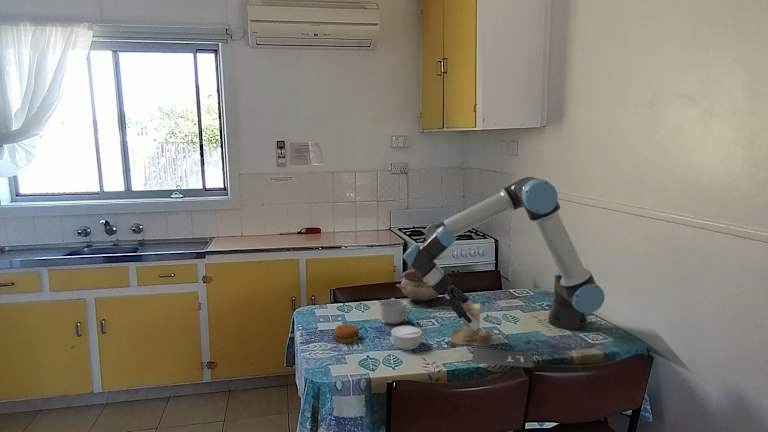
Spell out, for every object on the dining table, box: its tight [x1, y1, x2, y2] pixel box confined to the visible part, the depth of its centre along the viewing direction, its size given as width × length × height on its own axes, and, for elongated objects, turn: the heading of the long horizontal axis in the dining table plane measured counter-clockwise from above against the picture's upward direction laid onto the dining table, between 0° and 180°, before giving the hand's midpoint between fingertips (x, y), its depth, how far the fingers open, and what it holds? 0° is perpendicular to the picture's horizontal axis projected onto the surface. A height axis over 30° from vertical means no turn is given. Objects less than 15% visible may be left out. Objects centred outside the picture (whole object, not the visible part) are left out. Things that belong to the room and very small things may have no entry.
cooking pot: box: [396, 269, 441, 303], centre depth 239 cm, size 25×19×12 cm
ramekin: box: [390, 325, 423, 350], centre depth 189 cm, size 11×11×5 cm
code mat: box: [471, 348, 535, 368], centre depth 176 cm, size 20×12×1 cm, turn 79°
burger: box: [333, 323, 360, 344], centre depth 195 cm, size 10×9×5 cm
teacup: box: [379, 297, 407, 325], centre depth 214 cm, size 14×11×8 cm
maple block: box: [462, 302, 481, 341], centre depth 192 cm, size 6×6×12 cm
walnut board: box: [450, 328, 491, 348], centre depth 193 cm, size 14×14×2 cm
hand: (477, 321), depth 191 cm, fingers open, 13 cm apart
